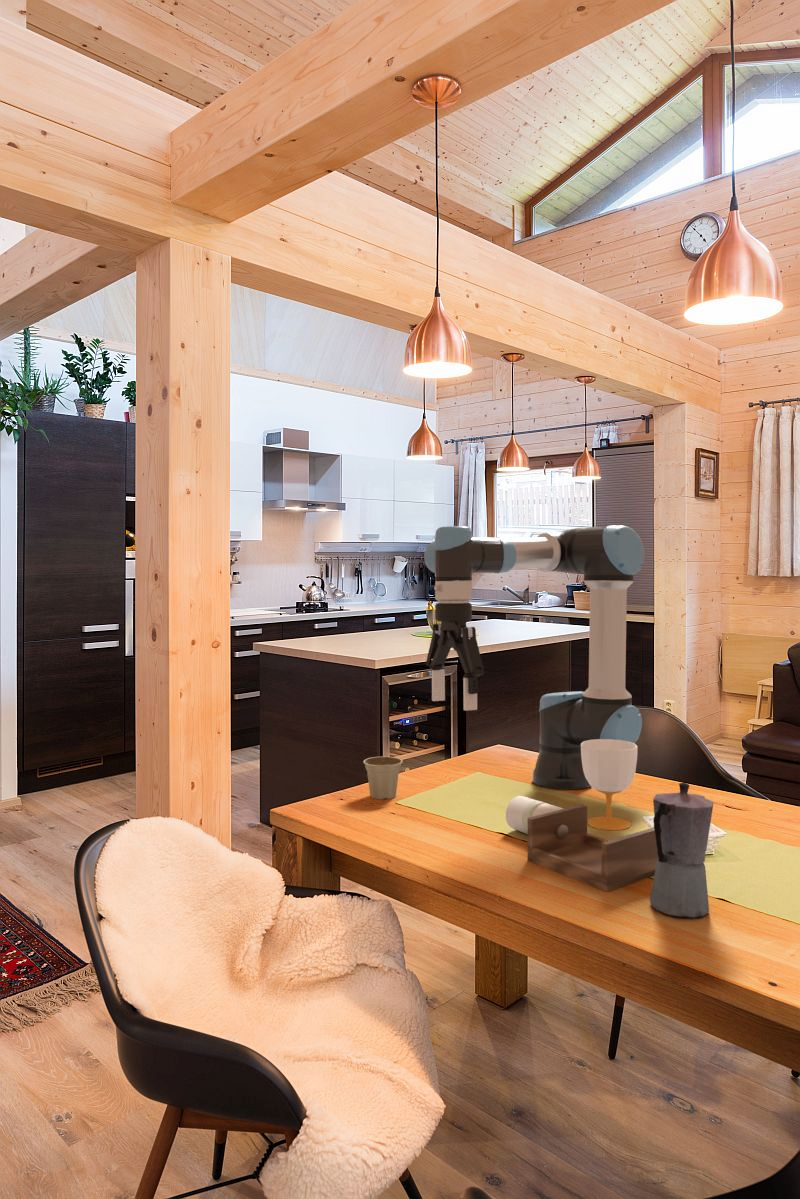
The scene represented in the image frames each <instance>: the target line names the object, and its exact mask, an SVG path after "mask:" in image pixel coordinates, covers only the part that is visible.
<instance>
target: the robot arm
mask: <svg viewBox="0 0 800 1199" xmlns="http://www.w3.org/2000/svg"><path fill="white" fill-rule="evenodd" d="M434 535H435V536H434V540H433V541H431V542H430V543H429V544H428V545H427V546H426V547H425V550H424V554H423V557H424V558H423V559H424V564H425V566H426V568H427V569H428V570H429V571H430V572H432V573H434V576H435V578H434V579H435V580H434V581H435V584H434V587H433V589H434V591H435V592H434V594H435V595H434V596H435V600H436V601H438V602H437V603H436V604H435V605H434V614H435V615H434V617H435V618H434V619H435V621H436V622H441V623H434V624H433V625H432V634H431V640H430V644H429V648H428V653H427V656H426V661H425V664H426V666H427V667H429V668H430V670H431V701H432V702H439V701H440V702H441V701H442V702H443V701H446V687H445V686H446V680H445V679H446V677H445V676H446V672H445V671H446V670H445V669H446V667H445V663H446V660H447V658H448V656H449V654H450V651H451V649H453V651H456V654H457V657H458V658H459V662H460V664H461V667H462V670H463V672H464V674H463V676H462V680H463V681H462V682H463V683H462V684H463V686H462V687H463V690H462V691H463V693H462V694H463V711H477V710H478V678H480V676H482V675H483V676H484V674H485V669H484V665H483V664H484V663H483V660H482V656H481V652H480V647H479V645H478V640H477V632H476V626H467V622H470V621H472V619H473V610H472V609H473V605H472V603H471V602H470V601H471V600H473V582H472V580H473V578H472V577H473V574H500V573H501V574H502V573H508V572H509V571H511V570H528V569H538V570H539V571H542V572H545V573H548V572H555V573H565V574H573V575H574V574H575V575H583V583H584V584H585V585H586V586H587V587H588V588H589V635H588V636H589V640H588V642H589V646H588V653H589V654H588V687H587V688H586V689H585V691H581V690H579V691H562V692H560V691H559V692H551V693H546V694H543V695H542V696H541V698H540V700H539V709H538V715H539V716H538V719H539V720H538V722H539V723H538V725H539V726H538V727H539V751H538V752H539V753H538V755H537V759H536V763H535V768H534V769H533V771H532V782H533V783H534V784H536V785H537V786H540V787H543V788H548V789H554V790H580V789H582V790H583V789H586V788H589V787H591V786H590V784H589V783H588V781H587V779H586V778H585V775H584V771H583V767H582V758H581V743H582V742H583V741H587V740H594V739H613V740H622V741H628V742H631V743H634V744H636V742H637V741H638V740H639V737H640V734H641V732H642V726H643V716H642V714H641V712H640V710H639V709H638V708H637V707H636V706H635V705H632V704H633V703H632V698H633V697H632V693H630V692H629V691H628V690H627V689H626V668H627V667H626V665H627V662H626V661H627V659H626V657H627V656H626V655H627V653H626V652H627V598H628V597H627V596H628V595H627V593H628V592H627V591H628V588H629V587H630V586H631V585H632V584H633V583H634V575H636V574H637V573H639V572H640V571H641V569H643V568H642V566H643V565H644V563H645V547H644V544H643V542H642V539H641V537H640V536H639V534H637V532H636V531H635V530H634V529H633V528H632V527H630V526H627V525H615V524H612V525H602V526H601V525H600V526H591V527H590V526H589V527H588V526H587V527H576V528H571V529H565V530H560V531H555V532H543V533H540V534H538V535H537V536H535V537H504V538H503V537H499V536H497V537H496V536H495V537H491V536H490V537H484V536H483V537H480V536H479V537H475V536H473V534H472V529H471V527H469V526H464V525H463V526H462V525H461V526H460V525H459V526H458V525H457V526H456V525H454V526H453V525H451V526H450V525H449V526H439V527H438V528H437V529H436V530H435V534H434Z"/></svg>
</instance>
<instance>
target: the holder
mask: <svg viewBox="0 0 800 1199" xmlns="http://www.w3.org/2000/svg"><path fill="white" fill-rule="evenodd" d="M587 821H588V805H586V804H583V803H582V804H579V805H574V806H571V807H566V808H563V809H561V810H557V811H553V812H549V813H545V814H541V815H537V816H533V817H529V818H528V834H527V861H528V862H531V863H533V864H536V865H538V866H541V867H543V868H545V869H548V870H551V871H553V872H556V873H558V874H561V875H564V876H565V877H568V878H570V879H573V880H576V881H578V882H581V883H583V884H587V885H589V886H590V887H594V888H596V889H599V890H602V891H604V892H611V891H614V890H616V889H619V888H622V887H626V886H628V885H631V884H634V883H636V882H639V881H643V880H645V879H648V878H651V877H654V875H655V869H656V864H657V859H658V852H657V850H658V849H657V844H656V835H655V829H654V826H653V827H651V828H647V829H644V830H640V831H636V832H633V833H630V834H626V835H622V836H620V837H617V838H614V839H610V840H608V839H605V838H602V837H599V836H597V835H596V836H595V835H593V834H590V833H588V823H587Z"/></svg>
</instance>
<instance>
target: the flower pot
mask: <svg viewBox="0 0 800 1199" xmlns="http://www.w3.org/2000/svg"><path fill="white" fill-rule="evenodd" d="M363 764H364V767H365V769H366V772H367V774H366V776H367V780H368V787H369V788H368V789H369V794H370V797H371V798H372V799H375V800H384V799H388V800H391V799H394V798H395V797H396V796H397V791H398V790H397V789H398V783H399V774H400V769H401V767H402V766H401V765H402V764H403V759H401V758H399V757H394V756H373V757H368V758H366V759H364V760H363Z"/></svg>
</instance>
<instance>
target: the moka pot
mask: <svg viewBox="0 0 800 1199" xmlns="http://www.w3.org/2000/svg"><path fill="white" fill-rule="evenodd" d="M678 785H679V792H669V793H668V792H666V793H658V794H657V793H656V794H655V795H654V797H653V803H652V804H653V811H654V815H653V820H652V821H653V827H654V829H655V835H656V844H657V849H658V850H657V852H658V859H657V864H656V869H655V875H654V876H653V881H652V886H651V892H650V896H649V902H650V905H651V906H652V907H653V908H654V909H655V910H657V911H659V912H661V913H664V914H666V915H669V916H674V917H680V918H701V917H704V916H706V915H707V914H709V912H710V904H709V894H708V884H707V883H708V882H707V871H706V865H705V860H706V852H707V847H708V844H709V843H708V842H709V835H710V829H711V822H712V816H713V808H714V801H713V800H710V799H707V798H705V797H706V796H704V795H700V794H695V793H693V794H692V793H688V791H689V790H690V784H689V783H686V782H680V783H678Z"/></svg>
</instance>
